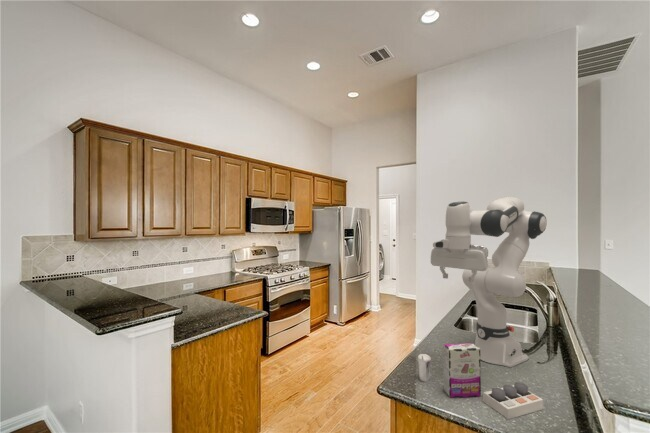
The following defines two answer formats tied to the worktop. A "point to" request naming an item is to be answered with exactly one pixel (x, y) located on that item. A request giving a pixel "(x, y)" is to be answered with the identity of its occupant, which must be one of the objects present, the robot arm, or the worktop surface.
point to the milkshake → (424, 367)
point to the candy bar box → (462, 370)
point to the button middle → (510, 391)
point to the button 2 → (521, 388)
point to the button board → (514, 404)
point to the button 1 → (498, 394)
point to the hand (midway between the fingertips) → (457, 280)
